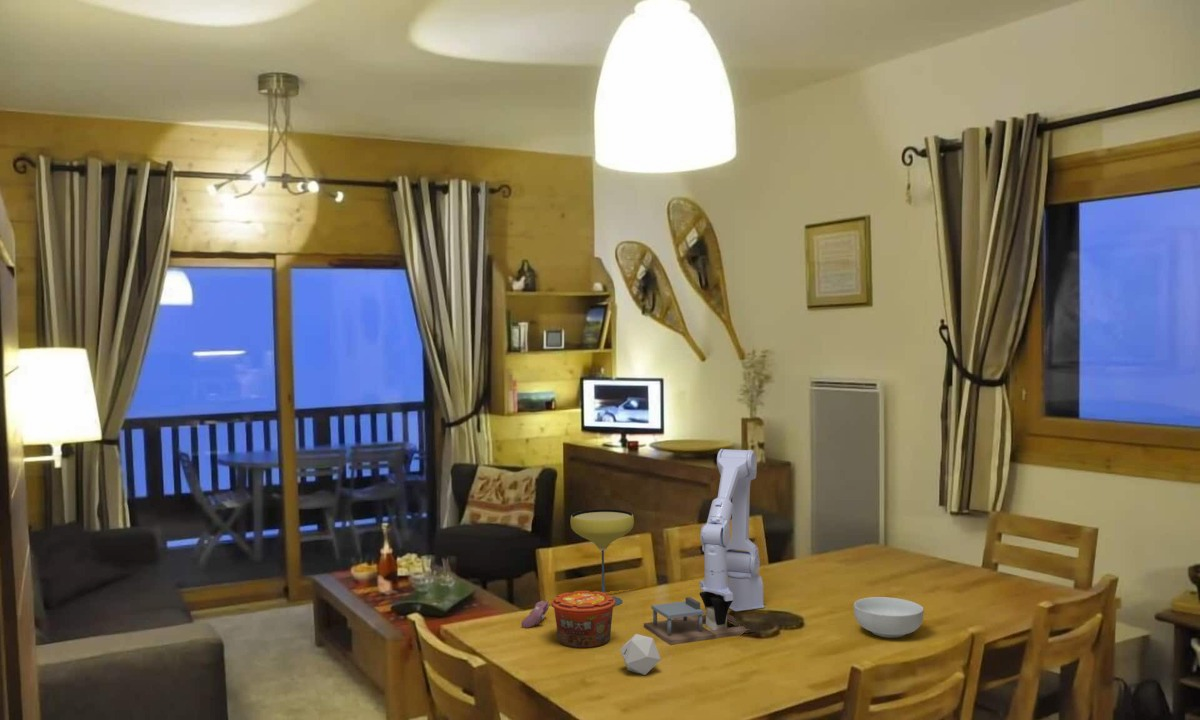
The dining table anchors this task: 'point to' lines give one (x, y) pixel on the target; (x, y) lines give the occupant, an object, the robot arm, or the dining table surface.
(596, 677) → the dining table surface
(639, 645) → the die
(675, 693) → the dining table surface
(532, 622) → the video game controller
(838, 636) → the dining table surface
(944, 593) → the dining table surface
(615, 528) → the cocktail glass
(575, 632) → the food container
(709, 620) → the block
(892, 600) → the cereal bowl
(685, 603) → the grey miniature stool
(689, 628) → the puzzle board
